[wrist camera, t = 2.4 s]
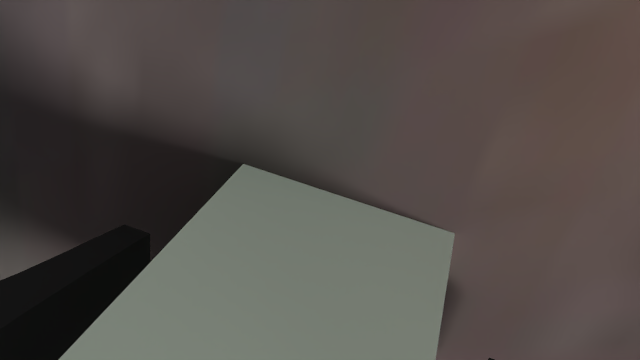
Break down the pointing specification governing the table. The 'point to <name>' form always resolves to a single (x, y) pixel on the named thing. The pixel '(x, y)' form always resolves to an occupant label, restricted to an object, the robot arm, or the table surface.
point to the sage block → (282, 282)
